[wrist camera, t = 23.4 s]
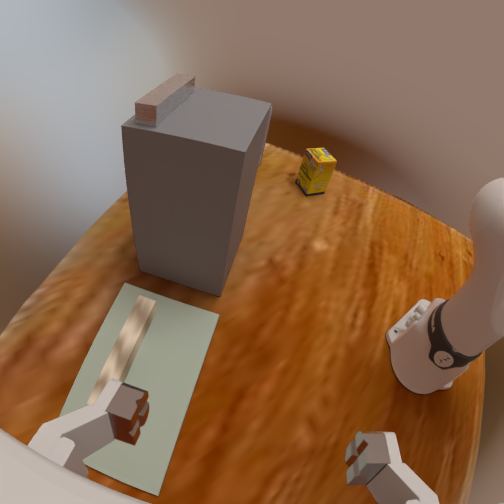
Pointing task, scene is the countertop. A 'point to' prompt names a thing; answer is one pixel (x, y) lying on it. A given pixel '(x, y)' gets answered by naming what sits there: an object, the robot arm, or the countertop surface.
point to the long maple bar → (126, 345)
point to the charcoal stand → (194, 186)
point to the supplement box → (315, 171)
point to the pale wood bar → (164, 100)
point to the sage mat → (148, 383)
